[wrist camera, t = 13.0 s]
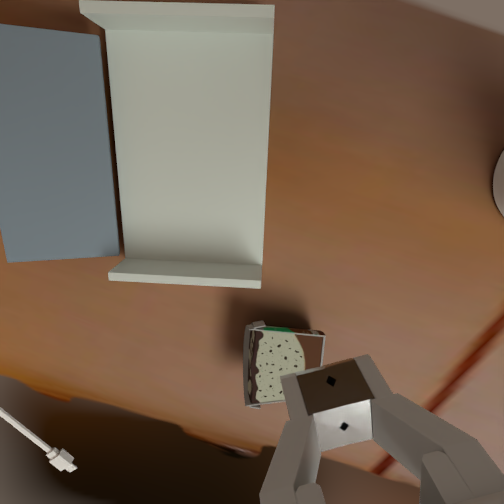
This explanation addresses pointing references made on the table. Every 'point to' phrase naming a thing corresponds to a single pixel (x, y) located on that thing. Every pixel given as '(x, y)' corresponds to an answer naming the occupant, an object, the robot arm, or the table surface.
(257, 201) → the tray
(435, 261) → the table surface
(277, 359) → the food container
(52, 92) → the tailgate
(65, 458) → the charging cable
